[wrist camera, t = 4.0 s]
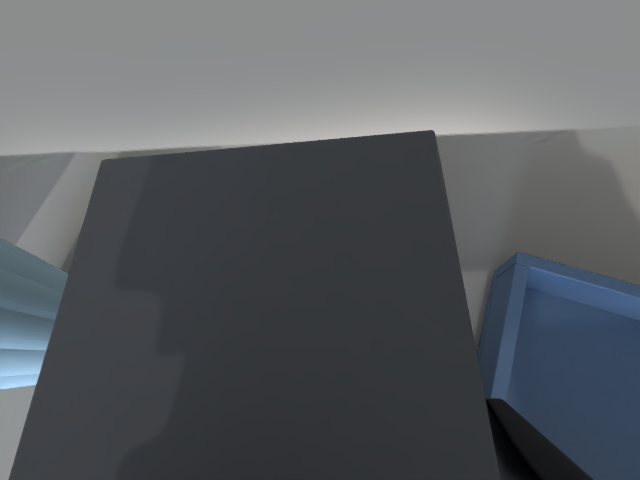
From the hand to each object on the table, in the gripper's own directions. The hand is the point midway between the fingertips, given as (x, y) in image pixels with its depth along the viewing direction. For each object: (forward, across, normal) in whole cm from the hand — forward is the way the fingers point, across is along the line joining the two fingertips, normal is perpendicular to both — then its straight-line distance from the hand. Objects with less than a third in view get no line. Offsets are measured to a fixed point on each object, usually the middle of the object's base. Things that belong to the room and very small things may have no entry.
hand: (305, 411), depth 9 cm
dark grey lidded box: (+7, 0, +5) cm, 9 cm away
